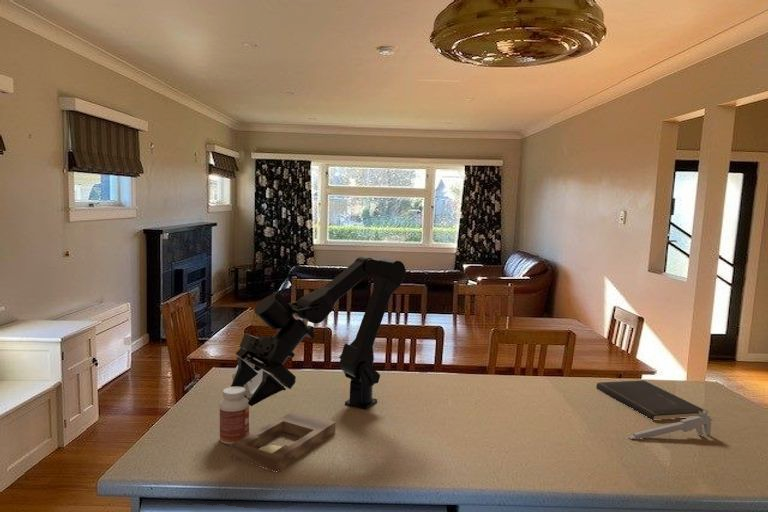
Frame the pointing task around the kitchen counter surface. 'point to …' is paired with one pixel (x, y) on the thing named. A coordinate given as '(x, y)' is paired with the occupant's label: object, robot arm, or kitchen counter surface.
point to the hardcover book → (649, 399)
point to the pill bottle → (234, 415)
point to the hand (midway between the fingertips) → (239, 398)
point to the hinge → (251, 382)
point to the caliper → (679, 427)
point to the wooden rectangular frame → (277, 456)
